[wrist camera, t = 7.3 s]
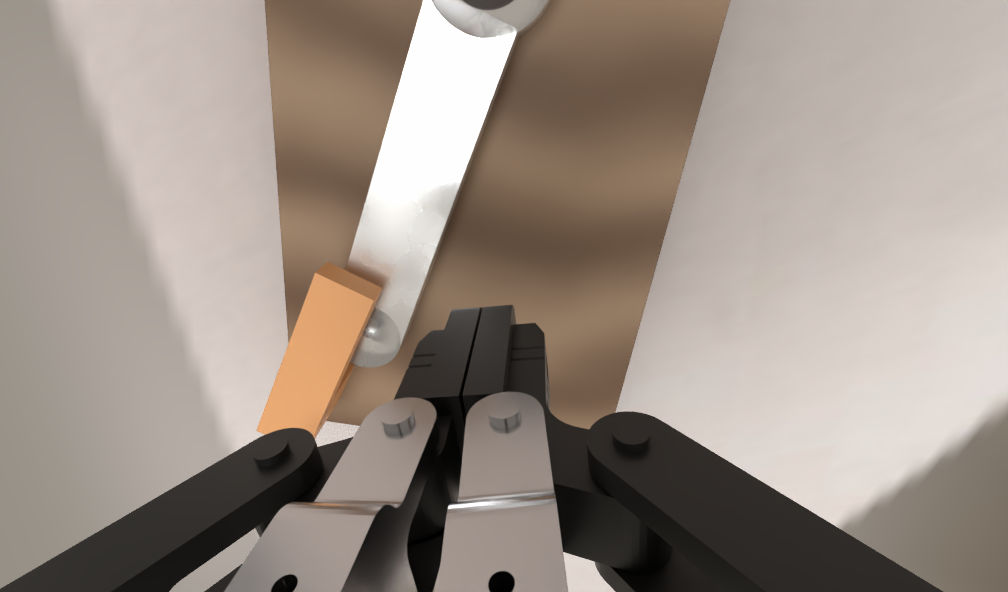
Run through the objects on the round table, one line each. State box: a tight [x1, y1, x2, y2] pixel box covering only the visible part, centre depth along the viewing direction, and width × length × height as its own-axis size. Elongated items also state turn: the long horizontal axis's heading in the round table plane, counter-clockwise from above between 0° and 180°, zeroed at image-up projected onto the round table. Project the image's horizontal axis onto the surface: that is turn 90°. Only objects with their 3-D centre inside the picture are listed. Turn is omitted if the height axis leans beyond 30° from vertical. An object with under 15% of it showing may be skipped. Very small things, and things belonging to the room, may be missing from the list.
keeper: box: [257, 262, 383, 439], centre depth 22 cm, size 9×2×4 cm, turn 153°
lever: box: [346, 0, 550, 368], centre depth 19 cm, size 19×4×2 cm, turn 158°
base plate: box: [265, 0, 730, 429], centre depth 20 cm, size 25×17×5 cm
